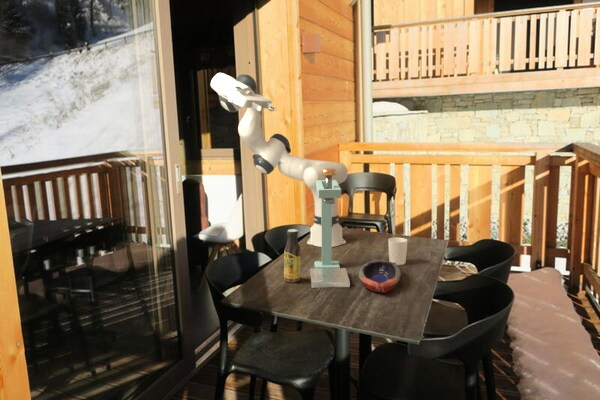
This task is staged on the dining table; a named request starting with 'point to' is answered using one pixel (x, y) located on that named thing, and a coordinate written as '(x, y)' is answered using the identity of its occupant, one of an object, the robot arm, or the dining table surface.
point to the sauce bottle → (292, 257)
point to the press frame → (327, 223)
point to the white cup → (397, 250)
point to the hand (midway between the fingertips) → (267, 109)
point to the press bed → (329, 277)
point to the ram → (328, 183)
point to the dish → (380, 275)
